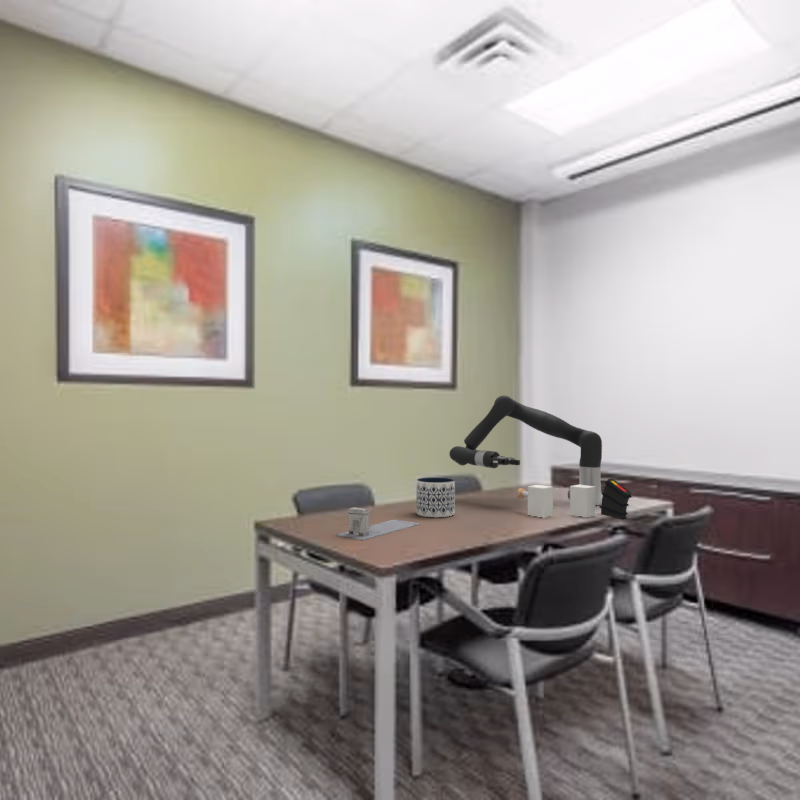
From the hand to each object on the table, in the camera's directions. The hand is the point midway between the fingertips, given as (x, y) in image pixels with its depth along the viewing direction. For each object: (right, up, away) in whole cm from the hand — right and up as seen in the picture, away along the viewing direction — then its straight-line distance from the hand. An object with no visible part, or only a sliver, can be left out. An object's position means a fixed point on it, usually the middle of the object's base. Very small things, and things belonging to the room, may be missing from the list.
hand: (519, 462), depth 255 cm
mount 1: (+6, -21, -11) cm, 24 cm away
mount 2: (+24, -21, -10) cm, 33 cm away
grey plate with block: (-58, -21, -38) cm, 73 cm away
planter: (-36, -21, -8) cm, 43 cm away
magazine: (+37, -21, -12) cm, 44 cm away
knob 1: (+2, -15, -7) cm, 16 cm away
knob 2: (+23, -15, -9) cm, 29 cm away
